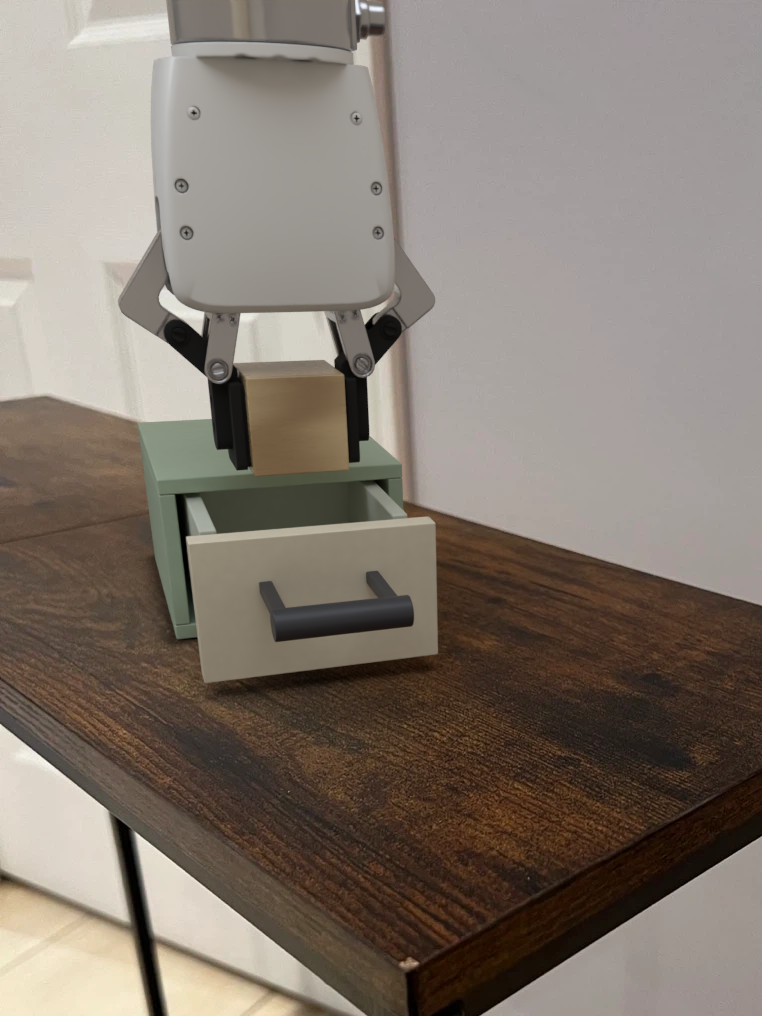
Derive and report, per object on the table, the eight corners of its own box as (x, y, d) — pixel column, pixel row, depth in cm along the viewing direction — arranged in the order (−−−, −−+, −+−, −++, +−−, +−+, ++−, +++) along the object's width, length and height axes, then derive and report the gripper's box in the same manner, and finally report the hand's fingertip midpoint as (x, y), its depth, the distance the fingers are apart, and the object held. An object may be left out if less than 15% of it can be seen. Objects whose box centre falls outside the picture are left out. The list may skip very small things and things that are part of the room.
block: (254, 477, 53) (245, 377, 51) (240, 456, 57) (232, 362, 55) (349, 470, 55) (344, 373, 53) (330, 450, 59) (324, 359, 57)
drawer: (473, 699, 53) (473, 558, 50) (220, 735, 49) (203, 584, 46) (374, 572, 69) (369, 459, 66) (177, 591, 65) (162, 472, 62)
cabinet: (406, 614, 65) (402, 463, 61) (176, 640, 61) (156, 479, 57) (350, 541, 77) (343, 411, 74) (155, 558, 73) (137, 422, 69)
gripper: (431, 44, 54) (438, 434, 62) (44, 22, 48) (107, 454, 56) (481, 29, 48) (482, 466, 56) (44, 2, 42) (115, 492, 50)
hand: (293, 456), depth 56 cm, fingers closed on block, 4 cm apart
